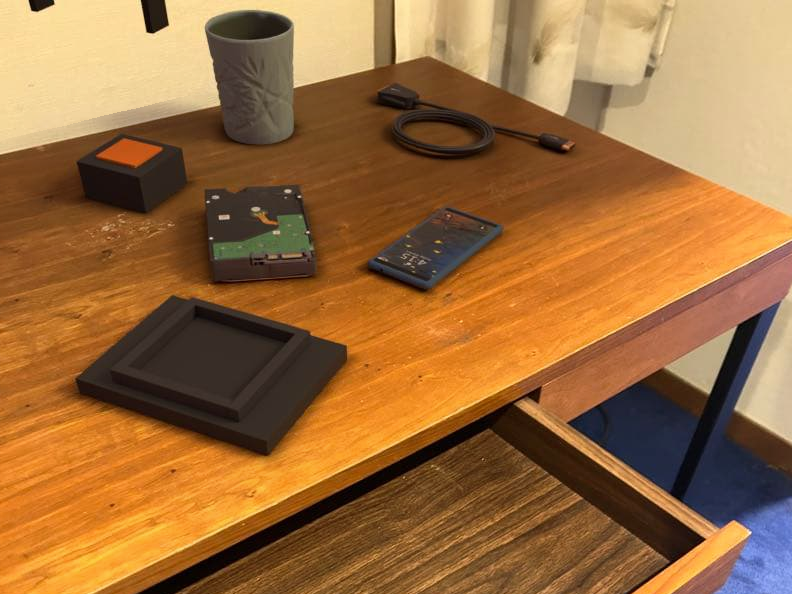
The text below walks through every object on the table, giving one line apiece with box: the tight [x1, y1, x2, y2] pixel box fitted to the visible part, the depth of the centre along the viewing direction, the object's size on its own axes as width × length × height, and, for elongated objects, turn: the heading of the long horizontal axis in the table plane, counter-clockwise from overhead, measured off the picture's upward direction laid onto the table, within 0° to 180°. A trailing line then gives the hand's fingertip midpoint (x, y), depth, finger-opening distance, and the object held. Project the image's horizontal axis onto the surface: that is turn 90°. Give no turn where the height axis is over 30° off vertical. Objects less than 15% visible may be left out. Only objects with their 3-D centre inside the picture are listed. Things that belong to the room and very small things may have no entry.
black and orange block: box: [75, 133, 188, 214], centre depth 94 cm, size 8×8×4 cm
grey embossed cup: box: [204, 9, 295, 146], centre depth 103 cm, size 10×10×12 cm
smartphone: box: [367, 205, 504, 291], centre depth 88 cm, size 8×1×15 cm
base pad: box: [74, 294, 348, 456], centre depth 72 cm, size 18×14×3 cm
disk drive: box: [203, 184, 317, 283], centre depth 88 cm, size 10×3×15 cm
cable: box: [376, 82, 576, 155], centre depth 107 cm, size 14×28×2 cm, turn 55°
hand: (99, 18), depth 84 cm, fingers open, 13 cm apart
